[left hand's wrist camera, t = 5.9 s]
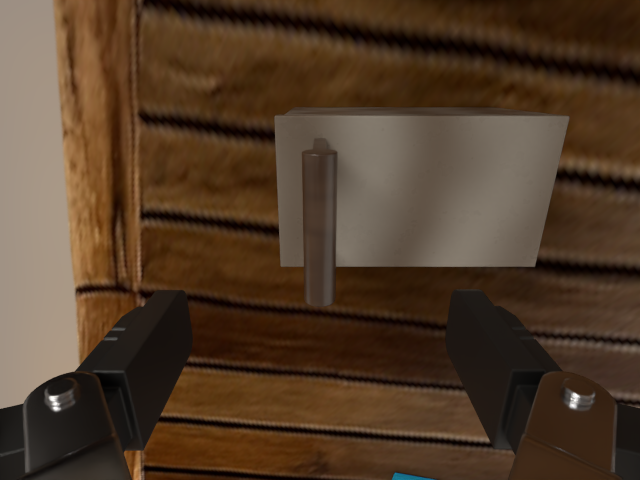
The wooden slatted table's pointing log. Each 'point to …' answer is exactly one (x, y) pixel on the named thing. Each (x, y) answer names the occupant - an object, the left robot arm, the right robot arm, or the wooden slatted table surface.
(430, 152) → the lid
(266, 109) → the wooden slatted table surface
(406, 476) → the model building
